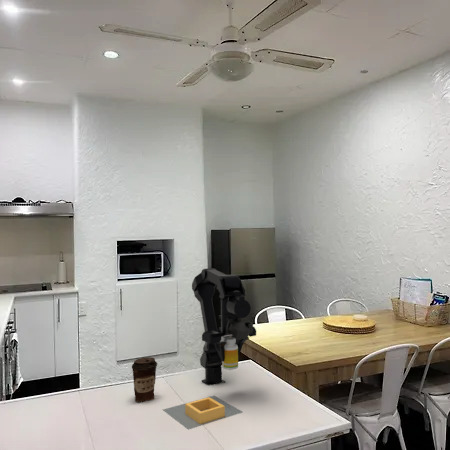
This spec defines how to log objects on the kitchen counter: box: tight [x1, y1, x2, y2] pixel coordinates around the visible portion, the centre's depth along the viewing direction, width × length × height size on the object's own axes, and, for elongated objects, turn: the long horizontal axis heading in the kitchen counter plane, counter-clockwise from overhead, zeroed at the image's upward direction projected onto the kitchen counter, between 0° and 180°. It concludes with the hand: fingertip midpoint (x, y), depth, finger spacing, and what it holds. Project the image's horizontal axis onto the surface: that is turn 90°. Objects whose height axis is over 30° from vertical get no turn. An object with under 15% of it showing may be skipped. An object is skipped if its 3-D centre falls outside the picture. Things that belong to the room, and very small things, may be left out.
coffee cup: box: [131, 356, 158, 403], centre depth 137 cm, size 9×8×13 cm
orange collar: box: [184, 396, 225, 424], centre depth 123 cm, size 8×8×3 cm
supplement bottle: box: [222, 336, 239, 371], centre depth 138 cm, size 5×5×10 cm
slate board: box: [162, 395, 243, 430], centre depth 126 cm, size 16×19×1 cm
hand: (230, 359), depth 138 cm, fingers closed on supplement bottle, 5 cm apart
